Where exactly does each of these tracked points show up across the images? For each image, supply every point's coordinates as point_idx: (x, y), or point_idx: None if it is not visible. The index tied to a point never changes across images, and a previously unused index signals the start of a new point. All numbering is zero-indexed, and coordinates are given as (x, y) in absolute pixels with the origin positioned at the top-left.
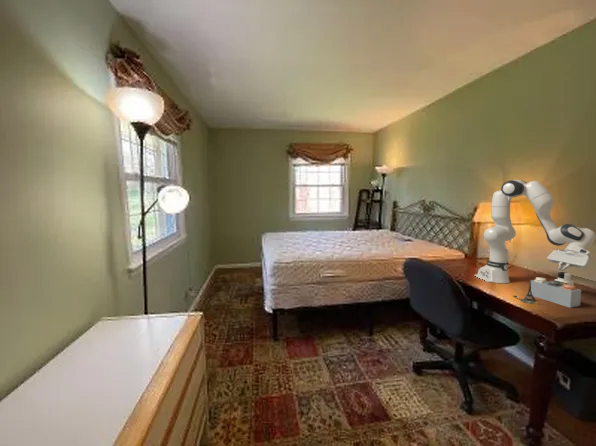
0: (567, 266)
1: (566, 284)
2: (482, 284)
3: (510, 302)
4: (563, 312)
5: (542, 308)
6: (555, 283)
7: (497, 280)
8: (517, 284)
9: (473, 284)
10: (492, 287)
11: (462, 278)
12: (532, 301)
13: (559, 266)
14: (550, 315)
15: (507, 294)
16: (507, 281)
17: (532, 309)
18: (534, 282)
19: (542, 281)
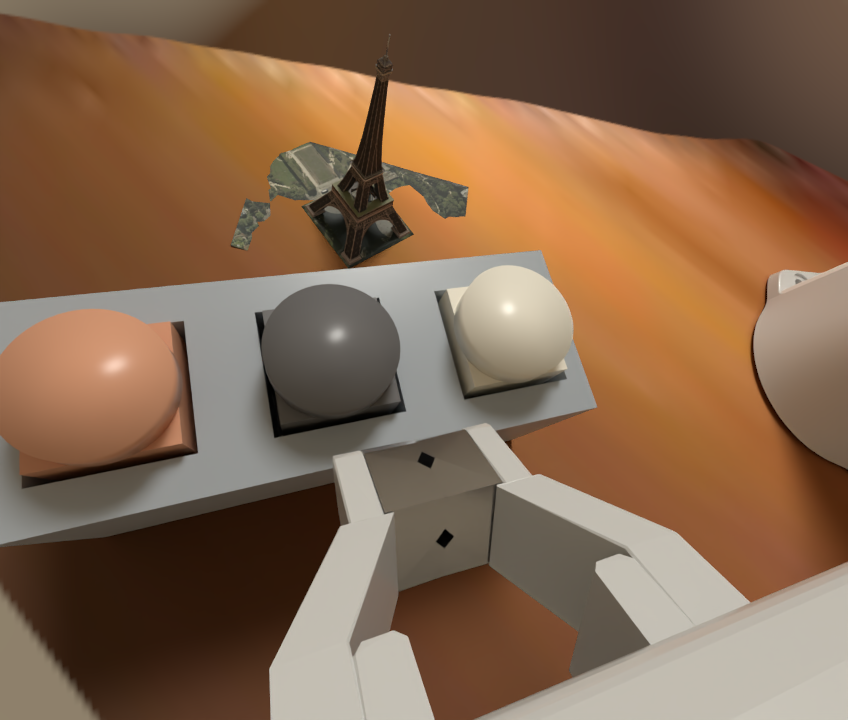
0: (305, 620)
1: (152, 391)
2: (709, 203)
3: (334, 70)
4: (24, 216)
5: (164, 151)
6: (277, 310)
7: (780, 316)
8: (748, 463)
9: (702, 152)
10: (648, 212)
11: (822, 186)
12: (313, 203)
13: (511, 466)
14: (15, 77)
15: (495, 183)
16: (784, 398)
17: (169, 76)
18: (488, 260)
19: (456, 304)
